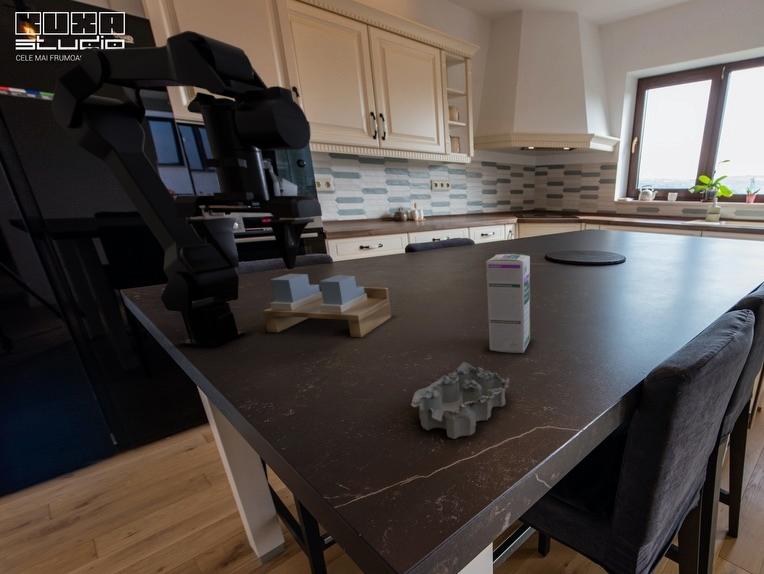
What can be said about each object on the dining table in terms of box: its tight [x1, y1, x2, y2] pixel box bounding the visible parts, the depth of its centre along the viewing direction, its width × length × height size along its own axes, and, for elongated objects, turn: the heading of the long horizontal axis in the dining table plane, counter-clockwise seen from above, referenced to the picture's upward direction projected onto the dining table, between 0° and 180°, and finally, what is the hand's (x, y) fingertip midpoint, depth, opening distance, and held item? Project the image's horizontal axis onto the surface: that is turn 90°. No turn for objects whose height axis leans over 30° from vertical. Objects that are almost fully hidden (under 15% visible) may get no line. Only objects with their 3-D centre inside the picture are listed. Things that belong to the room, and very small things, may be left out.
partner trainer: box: [269, 273, 323, 310], centre depth 73 cm, size 9×4×5 cm, turn 171°
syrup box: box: [485, 253, 531, 354], centre depth 62 cm, size 6×6×14 cm
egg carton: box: [410, 361, 511, 440], centre depth 45 cm, size 11×8×4 cm
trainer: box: [319, 274, 367, 313], centre depth 72 cm, size 9×4×5 cm, turn 171°
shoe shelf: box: [262, 284, 392, 338], centre depth 74 cm, size 18×12×6 cm, turn 81°
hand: (262, 268), depth 59 cm, fingers open, 9 cm apart
